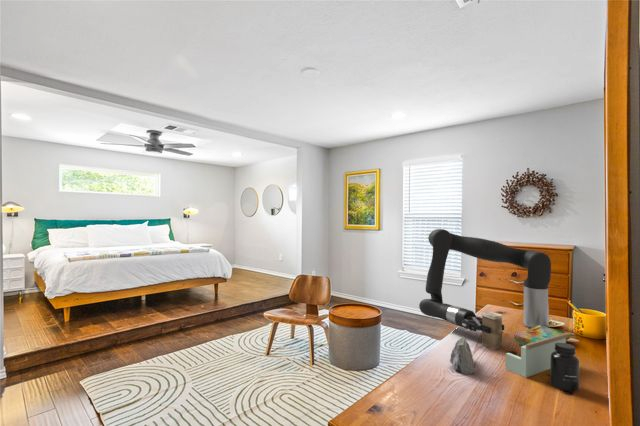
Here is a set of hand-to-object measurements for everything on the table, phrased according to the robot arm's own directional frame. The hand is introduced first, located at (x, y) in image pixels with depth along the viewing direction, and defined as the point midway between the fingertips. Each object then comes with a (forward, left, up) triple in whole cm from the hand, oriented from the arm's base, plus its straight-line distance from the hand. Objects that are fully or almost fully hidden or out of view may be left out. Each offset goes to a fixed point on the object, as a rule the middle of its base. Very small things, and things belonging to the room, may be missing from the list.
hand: (497, 329), depth 126 cm
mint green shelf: (+2, +15, -7) cm, 17 cm away
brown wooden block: (0, -2, -7) cm, 7 cm away
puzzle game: (-20, +5, -8) cm, 22 cm away
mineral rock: (+23, +4, -7) cm, 24 cm away
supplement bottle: (+8, +27, -7) cm, 29 cm away
